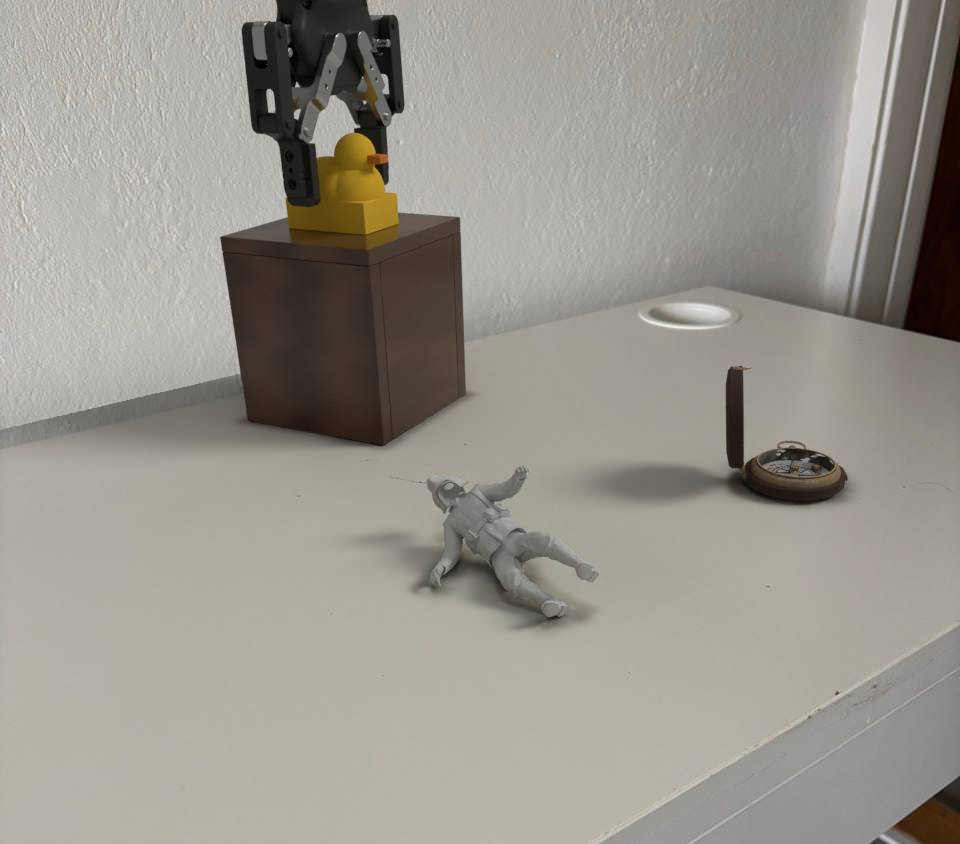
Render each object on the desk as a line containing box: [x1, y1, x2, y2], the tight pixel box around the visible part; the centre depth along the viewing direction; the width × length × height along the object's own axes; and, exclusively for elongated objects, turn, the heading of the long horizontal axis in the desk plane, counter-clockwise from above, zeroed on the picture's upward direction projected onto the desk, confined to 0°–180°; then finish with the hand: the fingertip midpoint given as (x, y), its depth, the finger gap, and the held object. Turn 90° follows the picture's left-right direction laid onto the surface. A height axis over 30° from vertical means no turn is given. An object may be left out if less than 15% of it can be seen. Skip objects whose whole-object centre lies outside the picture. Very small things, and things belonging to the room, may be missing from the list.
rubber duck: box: [285, 132, 399, 235], centre depth 70 cm, size 7×4×6 cm, turn 62°
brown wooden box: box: [219, 212, 467, 446], centre depth 75 cm, size 12×12×13 cm
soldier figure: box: [426, 465, 600, 618], centre depth 54 cm, size 8×5×12 cm
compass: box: [725, 365, 849, 502], centre depth 63 cm, size 8×8×7 cm
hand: (340, 195), depth 70 cm, fingers open, 8 cm apart
